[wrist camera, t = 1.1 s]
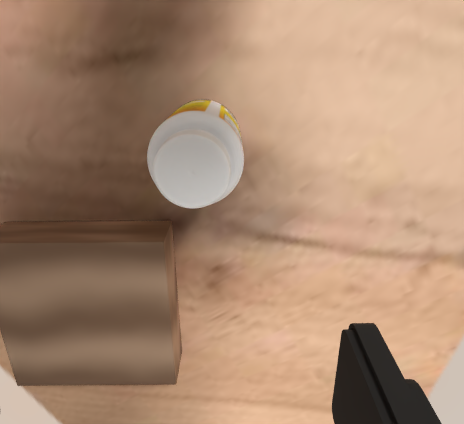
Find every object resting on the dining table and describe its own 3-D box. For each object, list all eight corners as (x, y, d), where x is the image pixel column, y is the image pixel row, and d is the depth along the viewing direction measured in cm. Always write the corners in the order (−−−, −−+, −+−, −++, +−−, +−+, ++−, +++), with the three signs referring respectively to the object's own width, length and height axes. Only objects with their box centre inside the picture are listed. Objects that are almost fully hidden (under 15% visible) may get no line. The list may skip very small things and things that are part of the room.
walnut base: (5, 221, 31) (-26, 243, 27) (171, 220, 31) (163, 241, 27) (39, 352, 36) (17, 385, 32) (181, 351, 36) (176, 384, 32)
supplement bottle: (157, 152, 28) (119, 196, 19) (186, 84, 27) (161, 95, 17) (221, 182, 29) (216, 239, 20) (253, 120, 28) (265, 149, 18)
